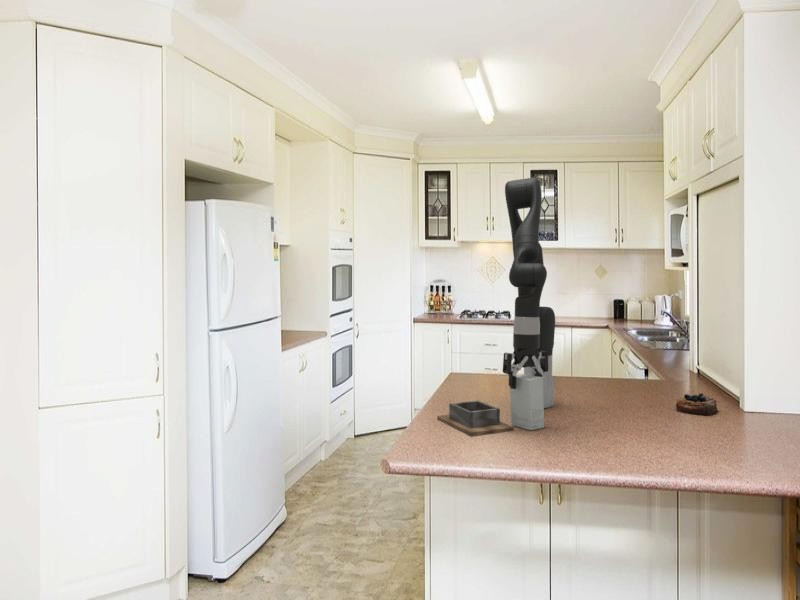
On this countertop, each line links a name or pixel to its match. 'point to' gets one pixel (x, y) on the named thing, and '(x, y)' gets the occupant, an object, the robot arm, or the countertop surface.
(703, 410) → the pastry
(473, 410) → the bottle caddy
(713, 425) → the countertop surface
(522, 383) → the skincare box
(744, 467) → the countertop surface
